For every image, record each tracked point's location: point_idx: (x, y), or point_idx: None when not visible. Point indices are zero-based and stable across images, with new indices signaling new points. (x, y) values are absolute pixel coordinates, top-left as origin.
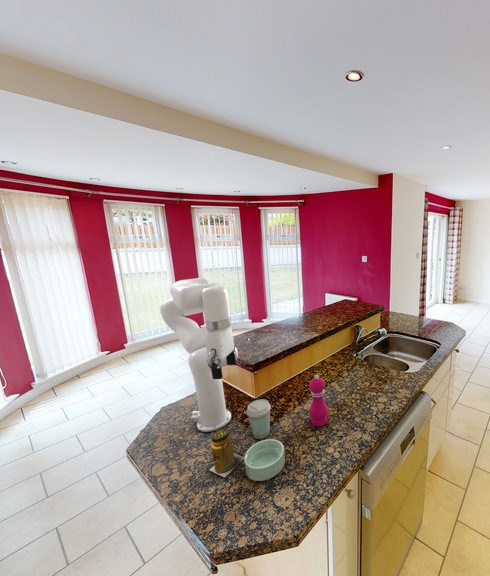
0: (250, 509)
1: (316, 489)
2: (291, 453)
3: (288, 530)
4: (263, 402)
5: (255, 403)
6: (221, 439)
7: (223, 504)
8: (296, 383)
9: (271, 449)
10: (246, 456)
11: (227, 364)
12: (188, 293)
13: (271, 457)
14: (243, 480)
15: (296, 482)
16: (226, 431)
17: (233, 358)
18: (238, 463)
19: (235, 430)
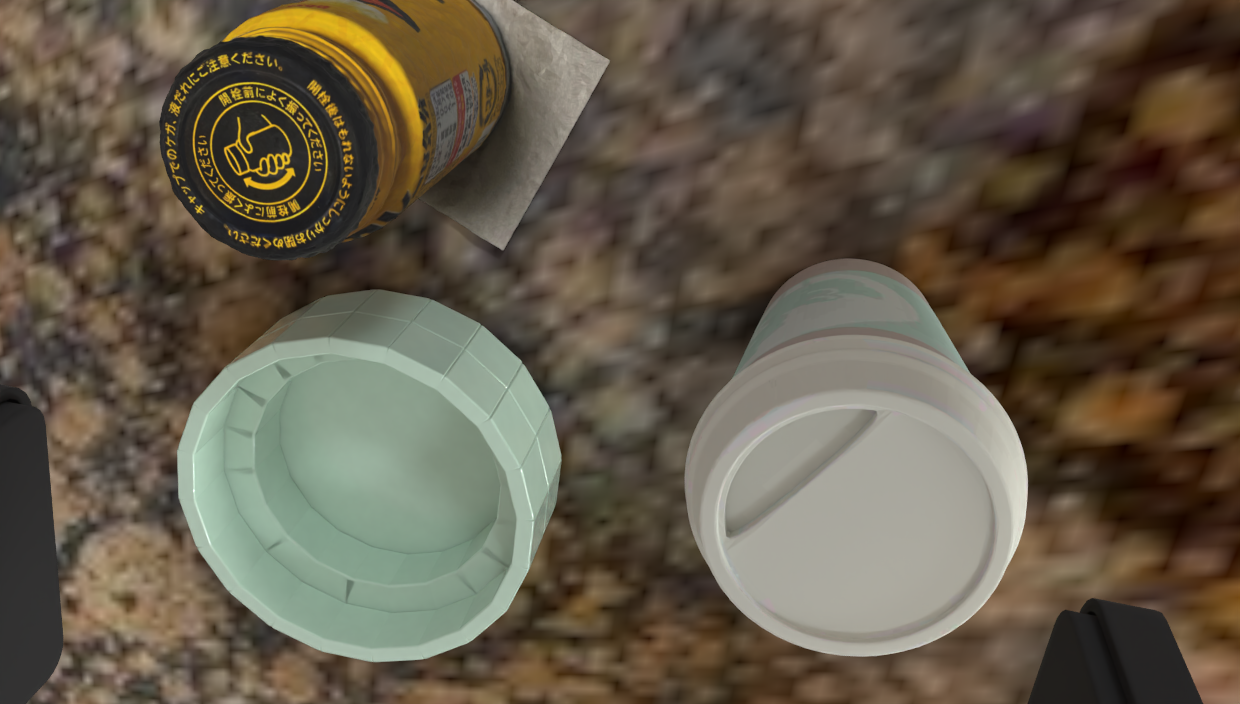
0: (38, 387)
1: None
2: (527, 623)
3: None
4: (922, 585)
5: (926, 480)
6: (181, 199)
7: (55, 185)
8: None
9: (498, 511)
10: (317, 354)
11: (1062, 632)
12: None
13: (471, 485)
14: (264, 285)
15: (251, 656)
16: (305, 226)
17: None
18: (435, 200)
19: (984, 12)
